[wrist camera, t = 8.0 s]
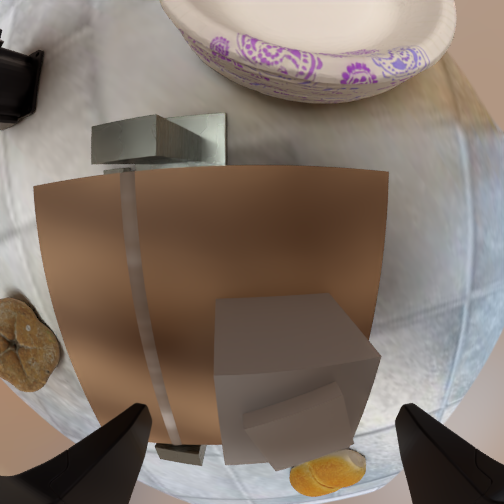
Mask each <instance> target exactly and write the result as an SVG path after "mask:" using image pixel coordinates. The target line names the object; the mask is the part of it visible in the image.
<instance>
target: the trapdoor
mask: <svg viewBox="0 0 504 504" xmlns="http://www.w3.org/2000/svg"><path fill="white" fill-rule="evenodd" d="M388 179H389V172H385V171H375V170H364V169H351V168H337V167H319V166H292V165H225V166H198V167H180V168H165V169H153V170H142V171H131V172H122V173H114V174H106V175H98V176H91V177H84V178H77V179H71V180H65V181H59V182H53V183H48V184H43V185H38V186H33V188H34V202H35V213H36V222H37V230H38V237H39V244H40V250H41V256H42V261H43V266H44V271H45V276H46V280H47V285H48V289H49V293H50V297H51V301H52V304H53V308H54V312H55V315H56V318H57V322H58V325H59V328H60V331H61V334H62V337H63V340H64V343H65V346H66V349H67V351H68V354H69V357H70V359H71V362H72V365H73V367H74V370H75V372H76V374H77V377H78V379H79V382H80V384H81V386H82V388H83V391H84V393H85V395H86V397H87V399H88V401H89V403H90V405H91V407H92V409H93V411H94V413H95V415H96V417H97V419H98V421H99V423H100V425H101V427H102V426H103V425H105V424H106V423H107V422H109V421H110V420H112V419H113V418H115V417H116V416H117V415H119V414H120V413H122V412H123V411H125V410H126V409H127V408H129V407H130V406H132V405H133V404H134V403H142V404H146V405H147V406H148V409H149V412H150V414H151V417H152V427H151V431H150V436H149V440H148V442H153V443H166V444H173V445H182V444H187V445H222V440H221V433H220V425H219V418H218V409H217V401H216V393H215V384H214V334H215V303H216V299H222V298H249V297H270V296H289V295H305V294H319V293H329V294H330V295H331V296H332V297H333V298H334V300H335V301H336V302H337V303H338V304H339V305H340V307H341V308H342V309H343V310H344V311H345V313H346V314H347V315H348V316H349V317H350V319H351V320H352V321H353V322H354V323H355V325H356V326H357V327H358V328H359V329H360V331H361V332H362V333H363V334H364V336H365V337H366V338H367V339H368V340H369V337H370V332H371V327H372V322H373V317H374V312H375V306H376V301H377V295H378V288H379V282H380V275H381V268H382V260H383V251H384V242H385V231H386V219H387V203H388Z"/></svg>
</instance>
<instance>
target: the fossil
mask: <svg viewBox="0 0 504 504" xmlns="http://www.w3.org/2000/svg"><path fill="white" fill-rule="evenodd" d="M59 359H60V351H59V344H58V342H57V339H56V337H55V335H54V334H53V333H52V331H51V330H50V329H49V328H48V327H46V326H45V325H44V324H43V323H41V322H40V321H39V320H38V318H37V317H36V315H35V313H34V312H33V310H32V309H31V308H30V307H28V306H27V305H26V304H25V303H24V302H22V301H20V300H17V299H14V298H9V297H7V298H4V299H0V377H1V378H3V379H5V380H7V381H8V382H10V383H11V384H12V385H14V386H15V387H16V388H17V389H19V390H20V391H24V392H34V391H37V390H39V389H41V388H42V387H43V386H44V385H45V384H46V382H47V380H48V378H49V376H50V375H51V374H52V372H53V371H54V369H55V368H56V366H57V365H58V362H59Z"/></svg>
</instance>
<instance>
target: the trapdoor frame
mask: <svg viewBox="0 0 504 504" xmlns="http://www.w3.org/2000/svg"><path fill="white" fill-rule="evenodd" d="M91 163H92V164H135V171H142V170H153V169H165V168H180V167H198V166H225V165H227V150H226V114H225V113H215V114H201V115H190V116H181V117H172V118H163V117H161V116H159V115H157V114H155V115H149V116H143V117H137V118H131V119H126V120H121V121H116V122H111V123H106V124H102V125H97V126H93V127H92V136H91ZM122 172H130V168H119V169H111V170H104V175H106V174H114V173H122ZM206 446H207V445H187V444H182V445H173V444H166V443H156V445H155V448H156V451H157V453H158V455H159V457H160V459H164V460H169V461H174V462H180V463H186V464H192V465H199V466H202V463H203V459H204V454H205V450H206Z"/></svg>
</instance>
